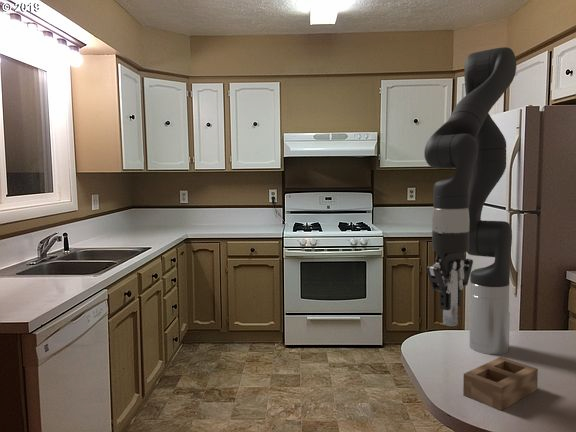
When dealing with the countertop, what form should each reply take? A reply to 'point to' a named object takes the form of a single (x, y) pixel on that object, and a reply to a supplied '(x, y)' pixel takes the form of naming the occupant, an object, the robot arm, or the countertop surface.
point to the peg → (452, 304)
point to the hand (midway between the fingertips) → (450, 307)
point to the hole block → (500, 382)
